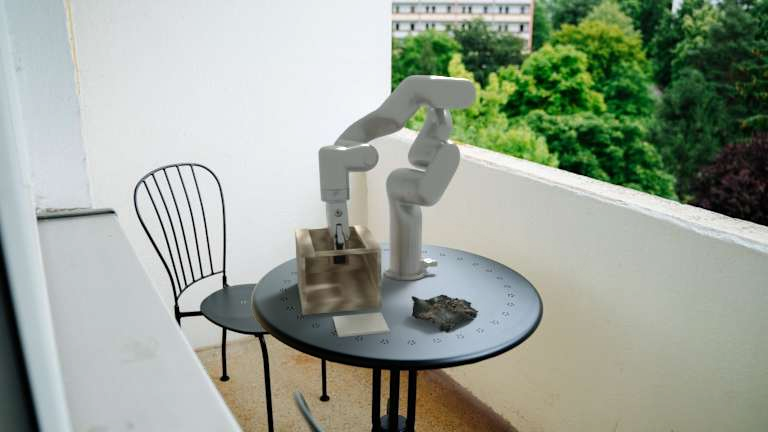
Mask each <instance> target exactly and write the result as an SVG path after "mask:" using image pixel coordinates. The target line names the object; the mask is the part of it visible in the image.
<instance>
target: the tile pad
mask: <svg viewBox="0 0 768 432" xmlns="http://www.w3.org/2000/svg"><path fill="white" fill-rule="evenodd" d="M332 321H333V324H334V328H335V330H336V334H337V337H338V338H344V337H353V336H354V337H356V336H367V335H374V334H375V335H377V334H386V333H390V328H389V326H388V323H387V322H386V320H385V318H384V316H383V314H382V312H372V313H371V312H370V313H360V314H349V315H348V314H347V315H338V316H332Z"/></svg>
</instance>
